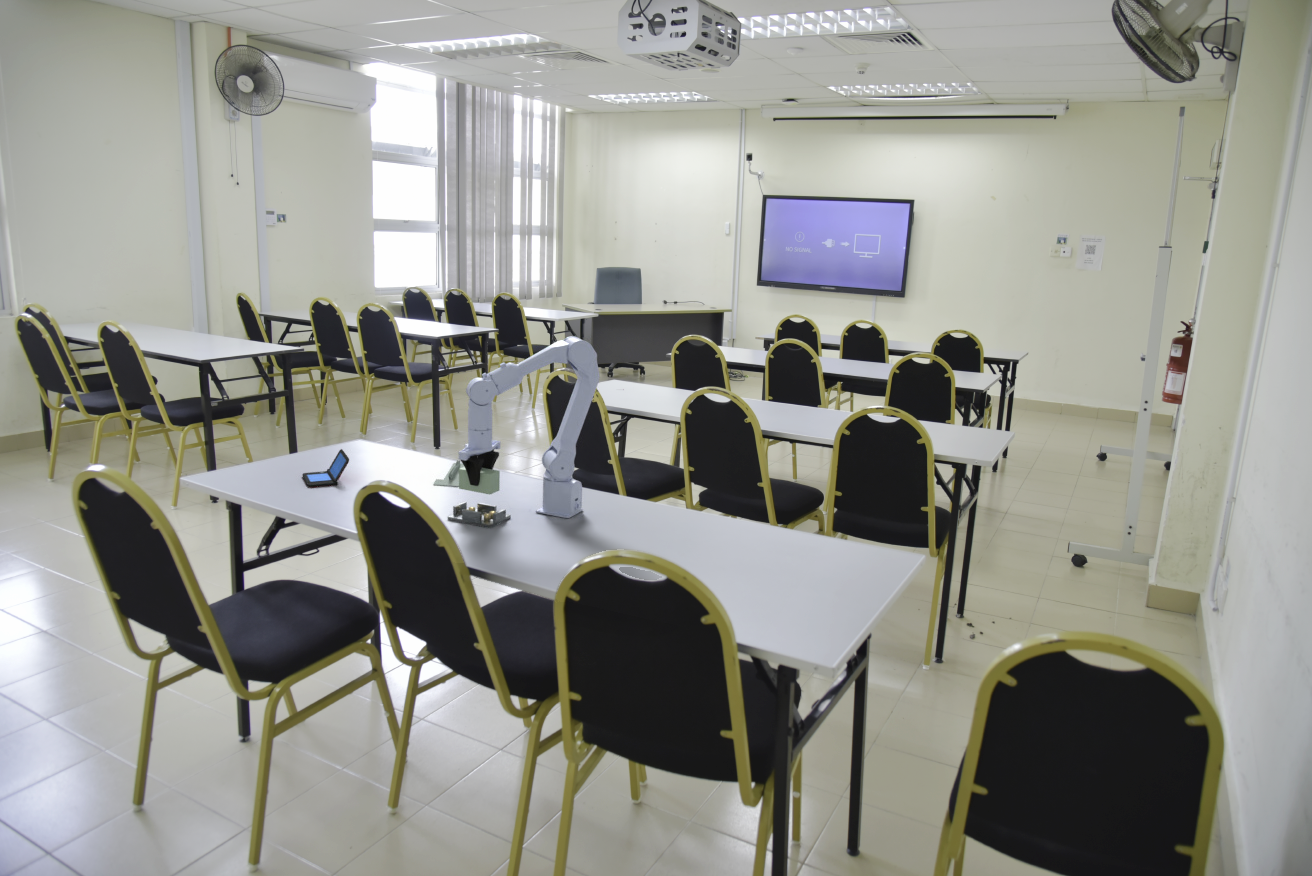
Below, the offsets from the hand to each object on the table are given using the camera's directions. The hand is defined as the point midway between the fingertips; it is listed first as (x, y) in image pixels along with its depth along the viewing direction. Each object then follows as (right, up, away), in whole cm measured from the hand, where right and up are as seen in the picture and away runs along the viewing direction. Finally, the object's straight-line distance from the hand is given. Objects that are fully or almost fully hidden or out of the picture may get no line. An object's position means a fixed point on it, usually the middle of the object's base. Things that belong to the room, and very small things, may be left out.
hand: (479, 482), depth 208 cm
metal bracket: (-10, -2, +31) cm, 33 cm away
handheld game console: (-47, -1, +25) cm, 53 cm away
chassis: (0, -9, 0) cm, 9 cm away
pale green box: (0, -2, 0) cm, 2 cm away
